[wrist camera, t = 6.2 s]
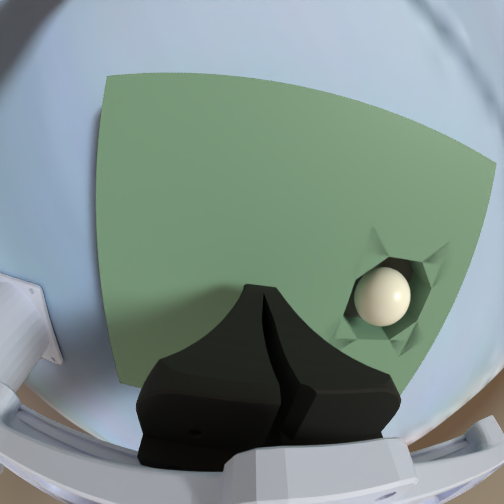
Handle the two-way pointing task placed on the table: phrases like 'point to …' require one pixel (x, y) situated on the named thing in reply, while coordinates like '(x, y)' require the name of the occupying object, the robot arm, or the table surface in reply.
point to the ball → (382, 296)
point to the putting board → (275, 214)
